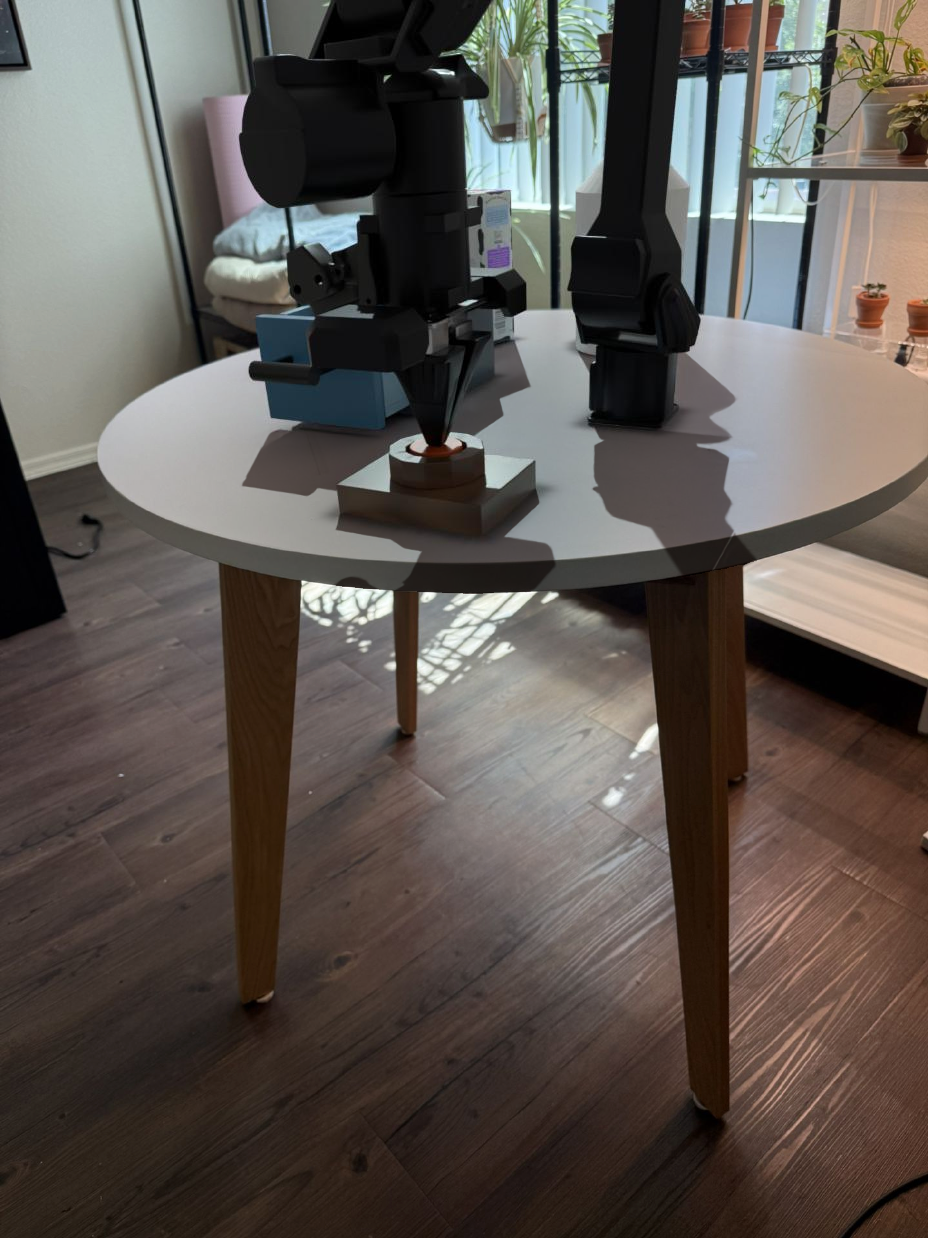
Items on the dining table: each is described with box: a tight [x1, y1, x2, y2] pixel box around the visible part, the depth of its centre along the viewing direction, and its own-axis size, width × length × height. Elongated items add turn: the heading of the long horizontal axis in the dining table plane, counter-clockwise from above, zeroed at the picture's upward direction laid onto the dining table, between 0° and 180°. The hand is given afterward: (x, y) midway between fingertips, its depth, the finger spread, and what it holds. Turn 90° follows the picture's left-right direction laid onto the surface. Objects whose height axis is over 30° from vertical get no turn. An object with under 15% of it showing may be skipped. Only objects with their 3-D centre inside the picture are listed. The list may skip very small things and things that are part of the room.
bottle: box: [575, 156, 691, 356], centre depth 94 cm, size 12×12×25 cm
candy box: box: [466, 188, 515, 345], centre depth 104 cm, size 14×6×16 cm, turn 48°
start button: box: [410, 437, 463, 458], centre depth 60 cm, size 4×4×2 cm
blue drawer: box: [247, 304, 410, 431], centre depth 77 cm, size 18×11×9 cm, turn 153°
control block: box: [335, 431, 537, 538], centre depth 61 cm, size 11×9×4 cm
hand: (436, 444), depth 60 cm, fingers closed, pressing on start button
